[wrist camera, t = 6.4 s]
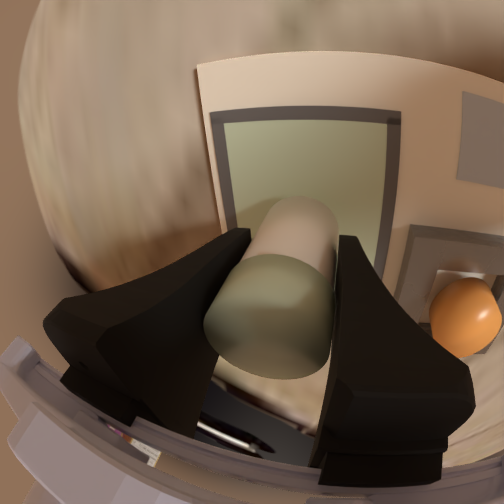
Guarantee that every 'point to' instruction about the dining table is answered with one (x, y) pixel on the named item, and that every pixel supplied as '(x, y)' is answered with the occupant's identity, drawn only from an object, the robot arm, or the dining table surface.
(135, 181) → the dining table surface
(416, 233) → the button base
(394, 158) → the picture board
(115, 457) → the robot arm
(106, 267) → the dining table surface
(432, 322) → the button
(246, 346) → the marker
